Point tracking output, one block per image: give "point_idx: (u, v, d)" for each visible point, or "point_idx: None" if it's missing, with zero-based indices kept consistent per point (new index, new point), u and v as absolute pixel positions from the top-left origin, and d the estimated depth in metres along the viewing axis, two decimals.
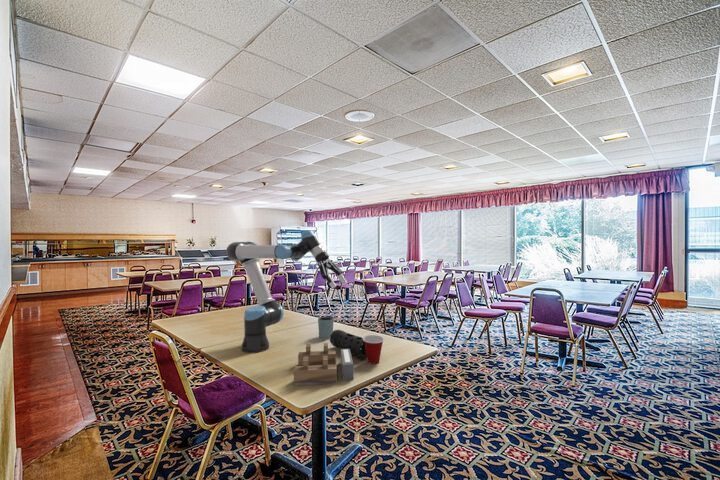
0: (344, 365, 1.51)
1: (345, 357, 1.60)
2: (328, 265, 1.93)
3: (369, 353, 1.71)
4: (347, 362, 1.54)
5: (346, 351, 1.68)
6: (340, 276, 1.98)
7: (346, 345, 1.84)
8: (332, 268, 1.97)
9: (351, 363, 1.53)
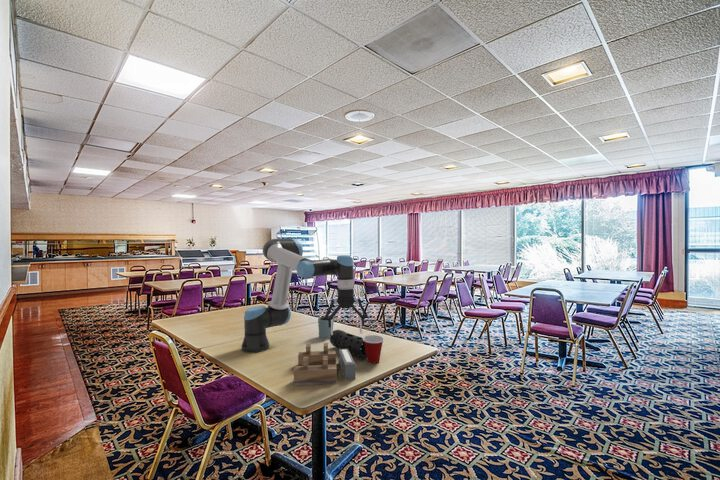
0: (346, 365, 1.51)
1: (345, 357, 1.60)
2: (344, 306, 1.62)
3: (369, 353, 1.71)
4: (349, 362, 1.54)
5: (345, 351, 1.68)
6: None
7: (346, 345, 1.84)
8: (353, 309, 1.63)
9: (353, 363, 1.53)
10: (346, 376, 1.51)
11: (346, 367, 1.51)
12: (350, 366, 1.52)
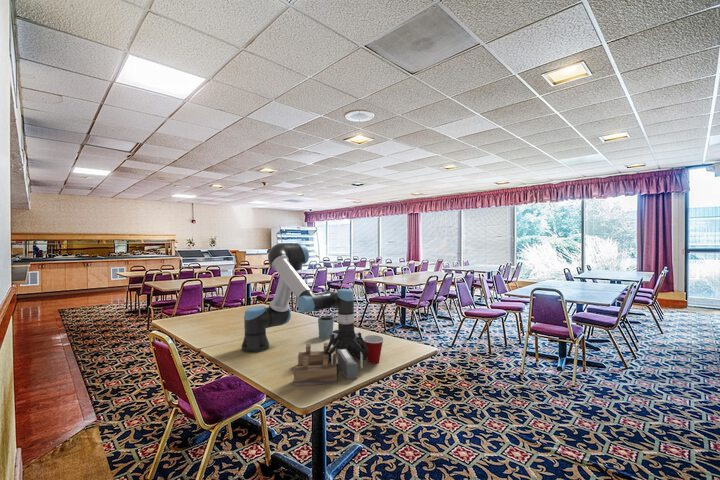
0: (348, 365, 1.52)
1: (346, 357, 1.60)
2: (345, 340, 1.61)
3: (369, 353, 1.71)
4: (350, 362, 1.54)
5: (344, 351, 1.68)
6: (360, 355, 1.63)
7: (346, 345, 1.84)
8: (354, 343, 1.63)
9: (354, 363, 1.53)
10: (348, 376, 1.51)
11: (348, 367, 1.51)
12: (352, 366, 1.52)
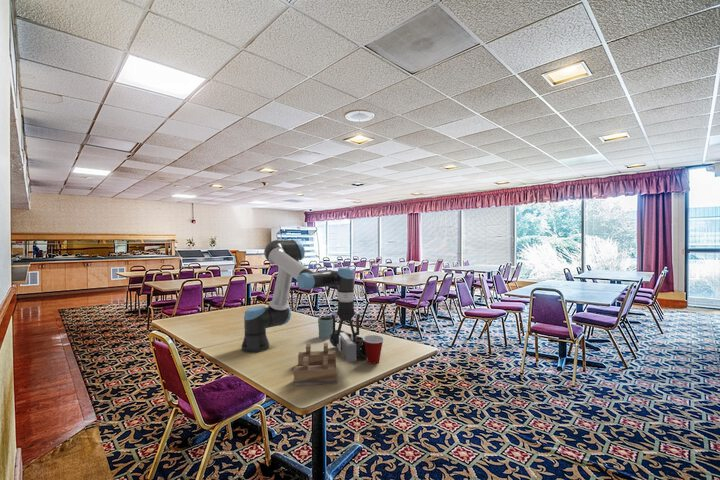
0: (347, 346, 1.52)
1: (345, 339, 1.60)
2: (344, 318, 1.62)
3: (369, 353, 1.71)
4: (349, 343, 1.54)
5: (343, 334, 1.69)
6: (351, 338, 1.63)
7: None
8: None
9: (354, 344, 1.53)
10: (347, 357, 1.52)
11: (347, 348, 1.52)
12: (351, 347, 1.52)
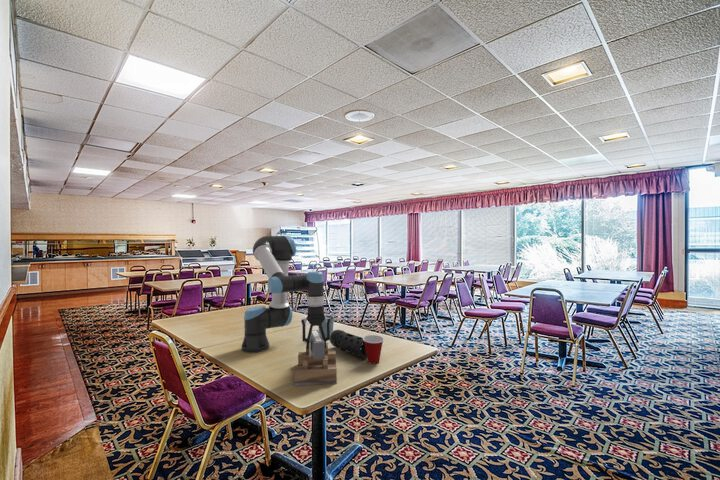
0: (315, 344, 1.49)
1: (315, 337, 1.57)
2: (314, 323, 1.59)
3: (369, 353, 1.71)
4: (318, 341, 1.51)
5: (315, 332, 1.66)
6: None
7: (346, 345, 1.84)
8: None
9: (322, 341, 1.51)
10: (315, 355, 1.49)
11: (315, 346, 1.49)
12: (319, 345, 1.49)
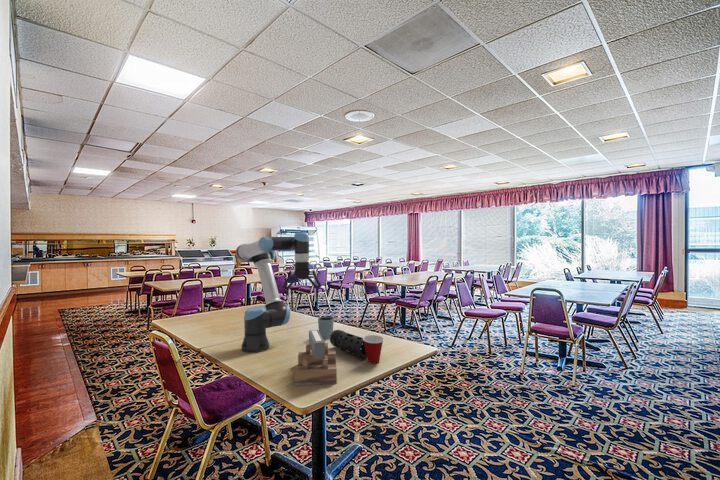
0: (315, 344, 1.49)
1: (315, 337, 1.57)
2: (300, 277, 1.84)
3: (369, 353, 1.71)
4: (318, 341, 1.51)
5: (315, 332, 1.66)
6: None
7: (346, 345, 1.84)
8: None
9: (322, 341, 1.51)
10: (315, 355, 1.49)
11: (315, 346, 1.49)
12: (319, 345, 1.49)
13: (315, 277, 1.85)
